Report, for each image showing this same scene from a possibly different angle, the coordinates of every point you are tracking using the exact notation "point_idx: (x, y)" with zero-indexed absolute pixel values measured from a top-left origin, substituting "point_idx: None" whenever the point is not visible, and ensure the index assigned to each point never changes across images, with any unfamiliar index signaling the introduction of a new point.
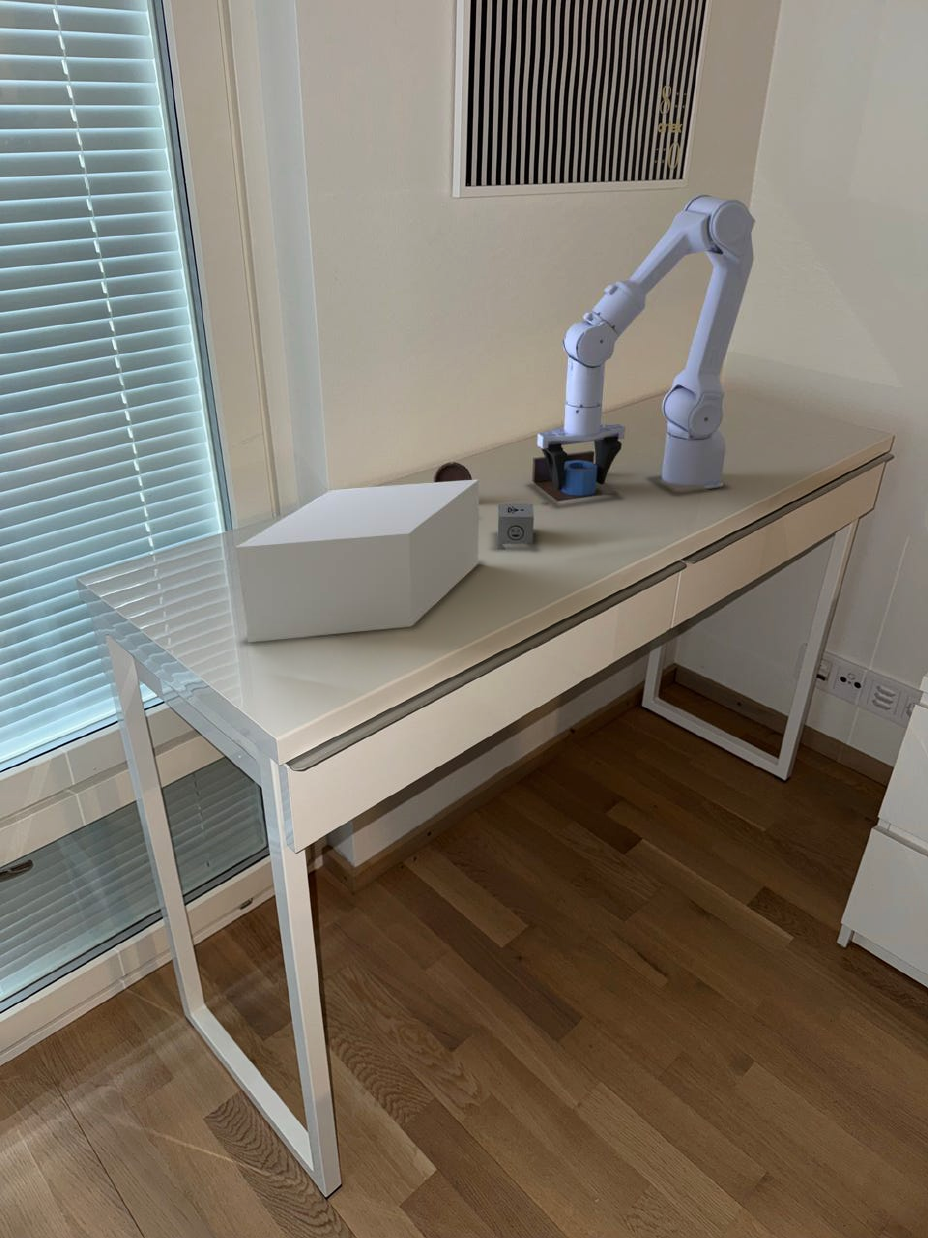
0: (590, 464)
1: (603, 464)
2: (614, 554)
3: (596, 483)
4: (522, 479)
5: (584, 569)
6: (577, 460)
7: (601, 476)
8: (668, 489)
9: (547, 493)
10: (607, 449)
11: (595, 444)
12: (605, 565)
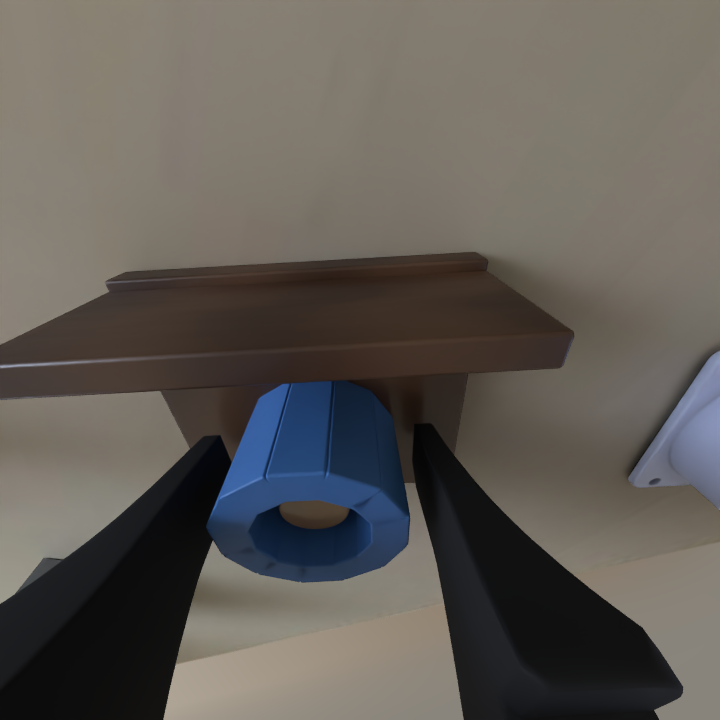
0: (380, 532)
1: (438, 558)
2: (290, 620)
3: (426, 402)
4: (60, 136)
5: (225, 636)
6: (333, 478)
7: (419, 494)
8: (651, 442)
9: (185, 439)
10: (464, 706)
11: (487, 617)
12: (262, 634)
